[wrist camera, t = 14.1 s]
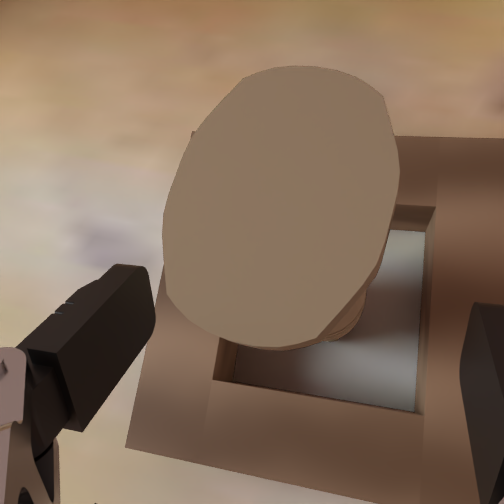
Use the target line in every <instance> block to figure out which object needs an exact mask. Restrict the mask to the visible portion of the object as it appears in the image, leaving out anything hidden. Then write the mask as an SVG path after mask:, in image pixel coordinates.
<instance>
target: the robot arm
mask: <svg viewBox="0 0 504 504" xmlns="http://www.w3.org/2000/svg"><path fill="white" fill-rule="evenodd" d="M155 323H156V313H155V308H154V302H153V297H152V291H151V286H150V280H149V275H148V272H147V270H146V268H145V267H143V266H135V265H125V264H115V265H113V266H112V267H111V268H110V269H109V270H108V271H107V272H106V273H105V274H104V275H103V276H102V277H101V278H100V279H99V280H95V281H93V282H91V283H89V284H87V285H86V286H84V287H82V288H80V289H78V290H77V291H76V292H75V293H74V294H73V295H72V296H71V297H70V298H68V299H67V300H66V301H65V304H62V305H61V306H60V307H59V308H58V309H57V310H55V313H54V314H51V315H50V316H49V317H48V318H47V319H46V320H45V321H44V322H42V323H41V324H40V325H39V326H38V327H37V328H36V329H35V330H34V331H33V332H32V333H31V334H29V335H28V336H27V337H26V338H25V339H24V340H23V341H22V342H21V343H20V344H19V345H18V346H16V347H15V348H12V347H3V348H0V504H60V473H59V445H58V441H57V439H56V436H57V435H58V434H59V432H60V431H61V430H62V428H64V429H69V430H74V431H78V432H83V431H84V429H85V428H86V427H87V425H88V424H89V422H90V421H91V420H92V418H93V417H94V415H95V414H96V413H97V411H98V410H99V409H100V407H101V406H102V404H103V403H104V402H105V400H106V399H107V397H108V396H109V395H110V393H111V392H112V390H113V389H114V388H115V386H116V385H117V383H118V382H119V381H120V379H121V378H122V376H123V375H124V374H125V372H126V371H127V369H128V368H129V367H130V365H131V364H132V363H133V361H134V360H135V358H136V357H137V356H138V354H139V353H140V351H141V350H142V349H143V347H144V346H145V344H146V343H147V342H148V340H149V339H150V337H151V336H152V334H153V331H154V328H155ZM459 379H460V387H461V393H462V399H463V405H464V411H465V416H466V422H467V428H468V434H469V440H470V446H471V452H472V458H473V464H474V470H475V476H476V481H477V487H478V493H479V499H480V504H504V305H501V304H491V303H481V302H474V304H473V306H472V308H471V312H470V317H469V321H468V326H467V330H466V335H465V339H464V344H463V348H462V353H461V358H460V368H459ZM95 504H96V503H95Z"/></svg>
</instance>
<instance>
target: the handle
mask: <svg viewBox="0 0 504 504" xmlns="http://www.w3.org/2000/svg"><path fill="white" fill-rule="evenodd" d="M399 179H400V167H399V158H398V150H397V146H396V142H395V138H394V134H393V130H392V126H391V122H390V119H389V115H388V112H387V108H386V105H385V101H384V98H383V96H382V95H381V94H380V93H379V92H378V91H376V90H375V89H374V88H373V87H371V86H370V85H368V84H367V83H365V82H364V81H362V80H360V79H359V78H357V77H355V76H352V75H349V74H346V73H343V72H340V71H337V70H332V69H326V68H321V67H313V66H287V67H276V68H272V69H268V70H265V71H261V72H258V73H255V74H253V75H250V76H248V77H245V78H243V79H242V80H241V81H240V82H239V83H238V84H237V85H236V86H235V87H234V88H233V90H232V91H231V92H230V93H229V94H228V95H227V96H226V97H225V98H224V99H223V100H222V101H221V102H220V103H219V104H218V105H217V106H216V108H215V109H214V110H213V111H212V112H211V113H210V114H209V115H208V116H207V117H206V119H205V120H204V121H203V122H202V124H201V125H200V126H199V128H198V129H197V130H196V132H195V133H194V134H193V136H192V138H191V140H190V142H189V144H188V146H187V148H186V150H185V152H184V154H183V157H182V160H181V162H180V165H179V168H178V170H177V173H176V176H175V178H174V181H173V184H172V186H171V189H170V192H169V195H168V198H167V202H166V206H165V210H164V214H163V229H162V240H163V257H164V269H165V281H166V292H167V295H168V296H169V298H170V299H171V301H172V302H173V303H174V305H175V306H176V307H177V308H178V309H179V311H180V312H181V313H182V314H183V315H184V316H185V317H186V318H187V319H188V320H189V321H191V322H193V323H194V324H196V325H197V326H199V327H200V328H202V329H204V330H205V331H207V332H209V333H212V334H214V335H216V336H219V337H221V338H224V339H226V340H229V341H231V342H234V343H237V344H240V345H244V346H249V347H253V348H258V349H262V350H280V351H286V350H292V349H298V348H303V347H307V346H310V345H313V344H316V343H319V342H321V341H329V342H331V341H336V340H338V339H339V338H340V337H342V336H344V335H345V334H347V333H348V332H349V331H350V330H351V329H353V328H354V326H355V325H356V324H357V322H358V320H359V319H360V317H361V314H362V311H363V308H364V305H365V300H366V291H367V288H368V286H369V285H370V283H371V282H372V281H373V279H374V278H375V277H376V275H377V273H378V270H379V268H380V265H381V262H382V258H383V255H384V251H385V247H386V243H387V239H388V235H389V231H390V227H391V223H392V219H393V215H394V211H395V207H396V202H397V197H398V191H399Z"/></svg>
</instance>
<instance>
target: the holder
mask: <svg viewBox="0 0 504 504" xmlns="http://www.w3.org/2000/svg"><path fill="white" fill-rule="evenodd" d="M195 132H196V131H192V134H191V138H192V136H193V134H194V133H195ZM394 138H395V142H396V146H397V150H398V158H399V167H400V179H399V191H398V197H397V202H396V207H395V211H394V215H393V219H392V223H391V227H390V229H393V230H407V231H421V232H425V248H424V264H423V281H422V297H421V313H420V329H419V346H418V362H417V378H416V395H415V411H414V412H410V411H405V410H399V409H393V408H387V407H381V406H375V405H369V404H363V403H357V402H351V401H345V400H340V399H334V398H328V397H322V396H316V395H310V394H304V393H298V392H292V391H286V390H280V389H274V388H269V387H263V386H257V385H251V384H245V383H239V382H233V374H234V368H235V362H236V356H237V350H238V344H237V343H234V342H231V341H229V340H226V339H224V338H221V337H219V336H216V335H214V334H212V333H209V332H207V331H205V330H204V329H202V328H200V327H199V326H197V325H196V324H194V323H193V322H191V321H189V320H188V319H187V318H186V317H185V316H184V315H183V314H182V313H181V312H180V311H179V309H178V308H177V307H176V306H175V305H174V303H173V302H172V301H171V299H170V298H169V296H168V295H167V292H166V281H165V269H164V266H163V271H162V276H161V280H160V285H159V290H158V294H157V299H156V304H155V313H156V323H155V328H154V331H153V334H152V336H151V337H150V339H149V340H148V342H147V346H146V351H145V355H144V360H143V365H142V370H141V374H140V379H139V384H138V388H137V393H136V398H135V403H134V407H133V412H132V417H131V421H130V426H129V431H128V435H127V440H126V445H125V448H130V449H134V450H139V451H143V452H148V453H152V454H157V455H161V456H166V457H170V458H175V459H179V460H184V461H188V462H193V463H197V464H202V465H206V466H211V467H215V468H220V469H225V470H229V471H234V472H238V473H243V474H247V475H252V476H256V477H261V478H265V479H270V480H274V481H279V482H283V483H288V484H292V485H297V486H301V487H306V488H310V489H315V490H319V491H324V492H328V493H333V494H337V495H342V496H346V497H351V498H355V499H360V500H364V501H369V502H373V503H378V504H480V499H479V493H478V487H477V481H476V476H475V470H474V464H473V458H472V452H471V446H470V440H469V434H468V428H467V422H466V416H465V411H464V405H463V399H462V393H461V387H460V379H459V368H460V358H461V353H462V348H463V344H464V339H465V335H466V330H467V326H468V321H469V317H470V312H471V308H472V306H473V304H474V302H481V303H491V304H501V305H504V139H498V138H455V137H413V136H394ZM190 140H191V139H190Z"/></svg>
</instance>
